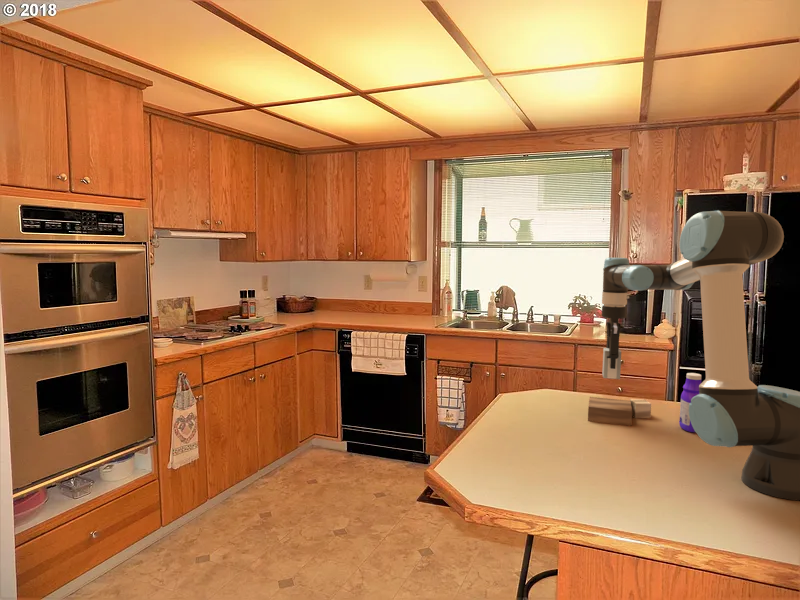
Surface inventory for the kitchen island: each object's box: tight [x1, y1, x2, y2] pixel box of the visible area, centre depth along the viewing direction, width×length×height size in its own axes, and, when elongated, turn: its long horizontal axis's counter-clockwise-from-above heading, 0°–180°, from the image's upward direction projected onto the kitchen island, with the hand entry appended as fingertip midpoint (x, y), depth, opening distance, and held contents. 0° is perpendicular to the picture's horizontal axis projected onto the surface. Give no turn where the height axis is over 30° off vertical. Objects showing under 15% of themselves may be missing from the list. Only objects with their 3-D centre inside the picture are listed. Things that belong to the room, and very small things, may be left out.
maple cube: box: [629, 398, 652, 419], centre depth 184 cm, size 5×5×5 cm
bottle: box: [678, 372, 702, 433], centre depth 170 cm, size 7×6×17 cm
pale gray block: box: [601, 347, 622, 380], centre depth 181 cm, size 5×5×9 cm
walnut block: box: [587, 396, 633, 426], centre depth 182 cm, size 13×13×5 cm
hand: (610, 375), depth 181 cm, fingers closed on pale gray block, 5 cm apart
